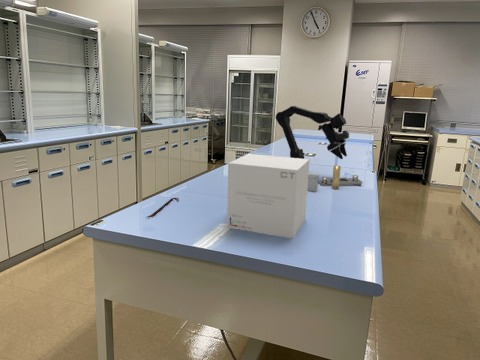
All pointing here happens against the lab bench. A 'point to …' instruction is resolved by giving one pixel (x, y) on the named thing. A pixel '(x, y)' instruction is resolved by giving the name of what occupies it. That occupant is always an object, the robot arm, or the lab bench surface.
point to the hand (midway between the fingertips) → (344, 157)
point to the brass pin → (336, 177)
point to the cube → (267, 194)
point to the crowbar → (162, 207)
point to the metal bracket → (341, 181)
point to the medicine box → (312, 182)
